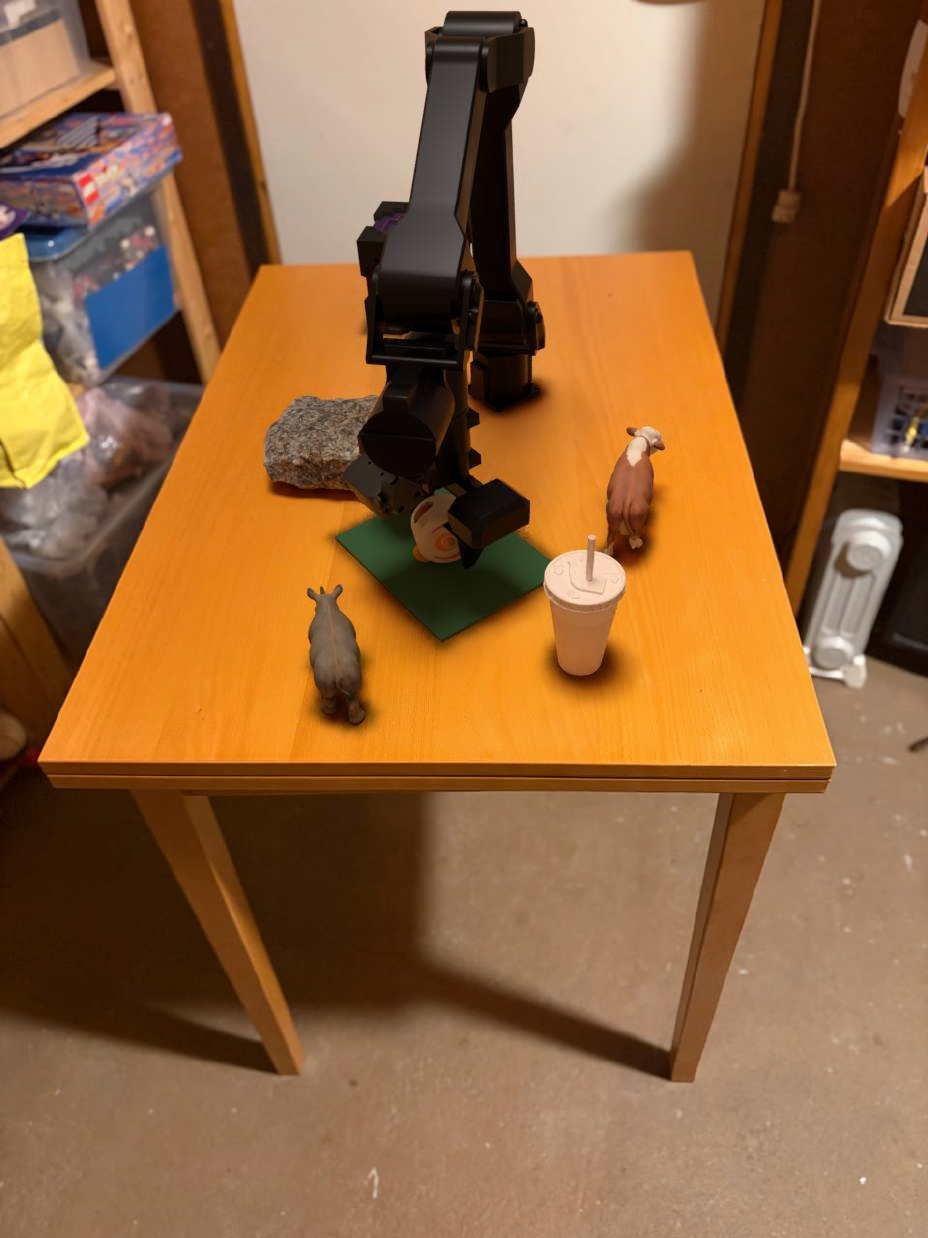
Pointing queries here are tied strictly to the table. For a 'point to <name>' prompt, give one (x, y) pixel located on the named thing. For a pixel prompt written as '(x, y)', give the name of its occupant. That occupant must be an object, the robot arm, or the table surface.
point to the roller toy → (434, 531)
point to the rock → (316, 441)
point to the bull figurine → (632, 487)
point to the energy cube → (382, 244)
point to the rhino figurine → (334, 654)
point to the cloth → (445, 574)
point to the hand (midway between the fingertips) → (445, 545)
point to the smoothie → (583, 605)
